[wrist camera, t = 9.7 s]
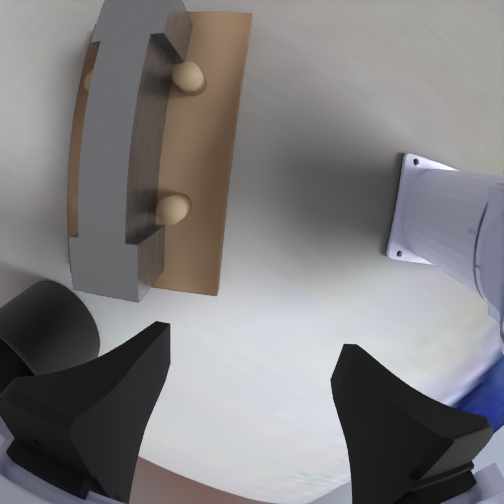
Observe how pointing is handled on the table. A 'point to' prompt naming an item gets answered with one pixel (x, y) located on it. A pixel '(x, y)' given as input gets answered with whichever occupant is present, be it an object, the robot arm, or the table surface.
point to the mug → (45, 333)
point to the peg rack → (188, 150)
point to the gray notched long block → (126, 147)
